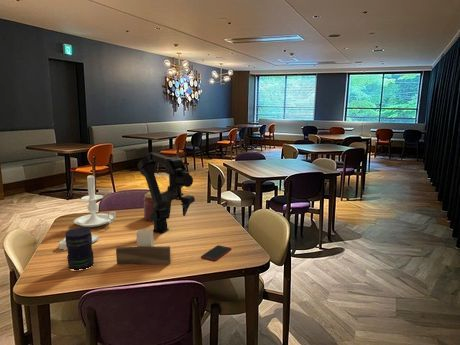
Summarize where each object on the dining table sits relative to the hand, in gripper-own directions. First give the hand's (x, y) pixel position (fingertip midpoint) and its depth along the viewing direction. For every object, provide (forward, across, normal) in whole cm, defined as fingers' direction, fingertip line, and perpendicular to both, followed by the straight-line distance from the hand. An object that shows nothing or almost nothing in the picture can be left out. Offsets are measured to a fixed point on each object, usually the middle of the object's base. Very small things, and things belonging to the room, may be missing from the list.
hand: (176, 214), depth 175 cm
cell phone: (+13, +27, -7) cm, 31 cm away
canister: (+12, -30, +19) cm, 38 cm away
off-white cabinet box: (+12, +3, -26) cm, 29 cm away
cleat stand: (+12, +3, -26) cm, 29 cm away
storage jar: (+12, -16, -44) cm, 48 cm away
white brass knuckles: (+13, -38, -28) cm, 49 cm away
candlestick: (+12, -51, -5) cm, 53 cm away
